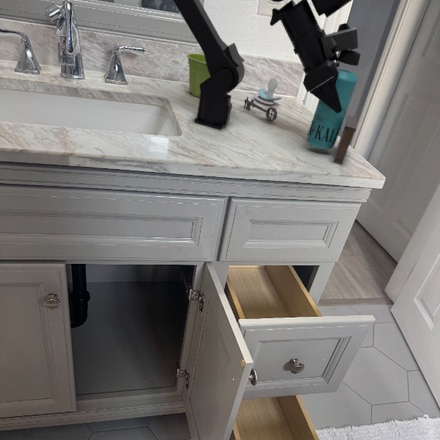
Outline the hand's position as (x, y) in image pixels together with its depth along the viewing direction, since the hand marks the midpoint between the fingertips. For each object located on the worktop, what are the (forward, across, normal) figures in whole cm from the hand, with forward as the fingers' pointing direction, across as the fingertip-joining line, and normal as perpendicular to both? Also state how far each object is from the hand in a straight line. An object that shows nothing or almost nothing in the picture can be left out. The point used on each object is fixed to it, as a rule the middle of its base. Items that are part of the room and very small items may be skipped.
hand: (340, 107), depth 88 cm
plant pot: (-17, +20, +31) cm, 41 cm away
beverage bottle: (+6, 0, +8) cm, 10 cm away
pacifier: (-6, +29, +20) cm, 35 cm away
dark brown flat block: (+9, 0, +5) cm, 10 cm away
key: (-5, +15, +20) cm, 25 cm away
